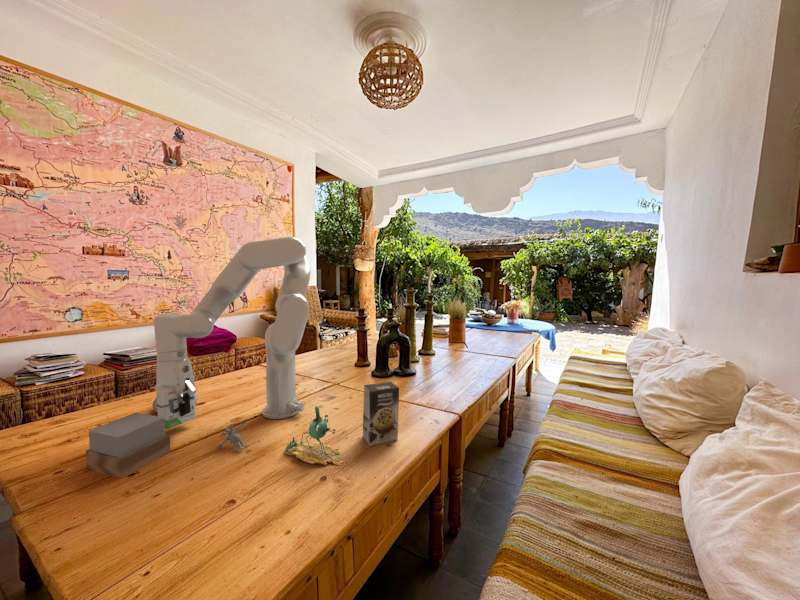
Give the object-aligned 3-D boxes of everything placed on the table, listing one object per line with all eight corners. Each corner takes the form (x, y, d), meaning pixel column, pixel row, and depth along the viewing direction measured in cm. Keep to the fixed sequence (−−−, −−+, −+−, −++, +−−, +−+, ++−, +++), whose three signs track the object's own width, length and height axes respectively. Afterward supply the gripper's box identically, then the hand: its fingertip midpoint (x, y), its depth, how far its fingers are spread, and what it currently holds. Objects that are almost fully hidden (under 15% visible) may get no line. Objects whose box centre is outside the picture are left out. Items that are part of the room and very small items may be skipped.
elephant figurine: (222, 460, 86) (208, 440, 90) (233, 465, 90) (220, 446, 94) (251, 432, 89) (236, 413, 94) (261, 438, 93) (246, 420, 98)
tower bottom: (170, 453, 89) (169, 435, 88) (121, 480, 77) (120, 459, 77) (138, 445, 92) (137, 428, 92) (87, 470, 81) (85, 450, 80)
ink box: (166, 430, 96) (163, 391, 95) (157, 426, 98) (154, 388, 97) (197, 418, 103) (194, 381, 102) (188, 414, 106) (185, 379, 104)
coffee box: (369, 446, 93) (370, 391, 92) (362, 436, 99) (362, 384, 98) (398, 440, 97) (399, 387, 96) (390, 430, 103) (391, 380, 102)
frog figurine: (300, 439, 97) (304, 392, 95) (352, 461, 90) (358, 410, 88) (275, 456, 88) (280, 403, 86) (331, 481, 81) (337, 425, 79)
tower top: (164, 435, 88) (163, 417, 88) (119, 457, 78) (118, 437, 77) (137, 429, 91) (136, 412, 91) (89, 450, 81) (88, 430, 80)
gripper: (205, 353, 100) (209, 411, 101) (163, 350, 105) (167, 404, 106) (182, 360, 92) (187, 422, 94) (138, 356, 97) (143, 414, 99)
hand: (177, 412), depth 100 cm, fingers closed on ink box, 5 cm apart
